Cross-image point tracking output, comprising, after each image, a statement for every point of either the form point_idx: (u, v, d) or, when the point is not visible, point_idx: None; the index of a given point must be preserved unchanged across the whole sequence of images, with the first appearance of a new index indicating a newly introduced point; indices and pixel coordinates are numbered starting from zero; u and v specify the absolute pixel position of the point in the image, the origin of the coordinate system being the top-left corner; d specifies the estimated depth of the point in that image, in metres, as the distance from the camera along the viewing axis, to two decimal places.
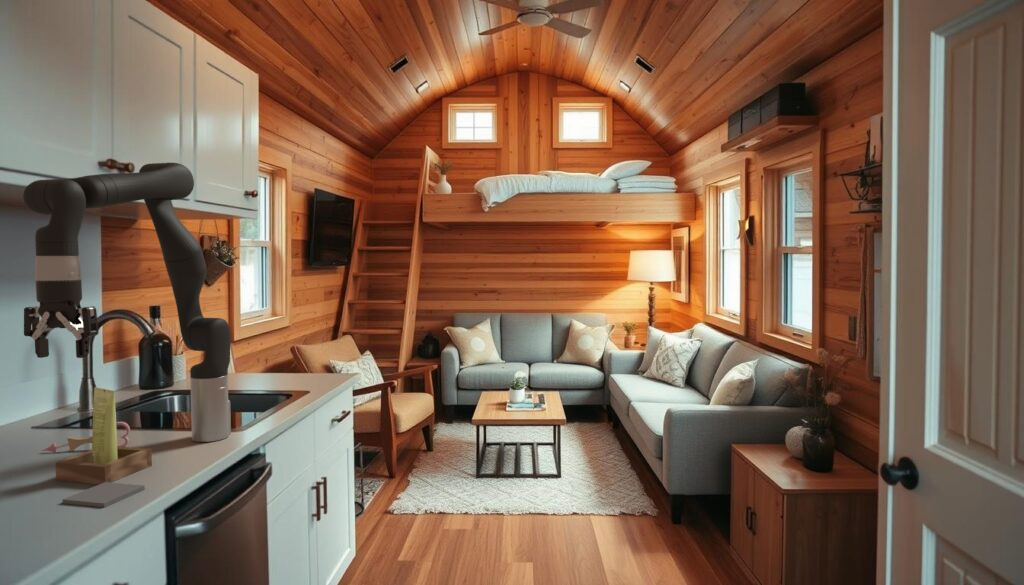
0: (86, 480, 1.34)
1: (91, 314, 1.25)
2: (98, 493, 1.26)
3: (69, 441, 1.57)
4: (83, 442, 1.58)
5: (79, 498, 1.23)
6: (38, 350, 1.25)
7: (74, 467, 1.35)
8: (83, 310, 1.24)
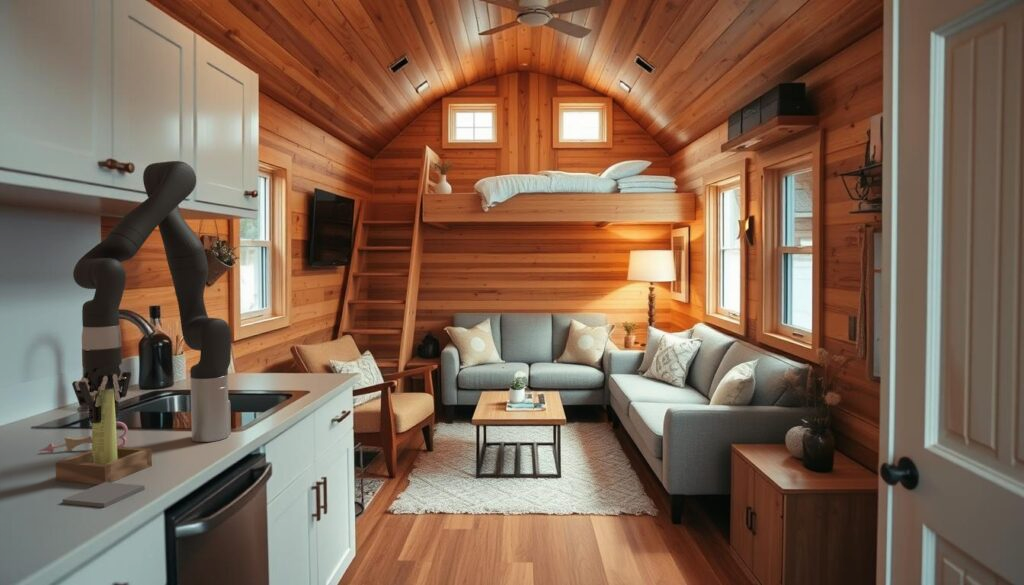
0: (86, 480, 1.34)
1: None
2: (98, 493, 1.26)
3: (66, 441, 1.57)
4: (81, 442, 1.58)
5: (79, 498, 1.23)
6: (100, 416, 1.38)
7: (74, 467, 1.35)
8: (128, 374, 1.46)
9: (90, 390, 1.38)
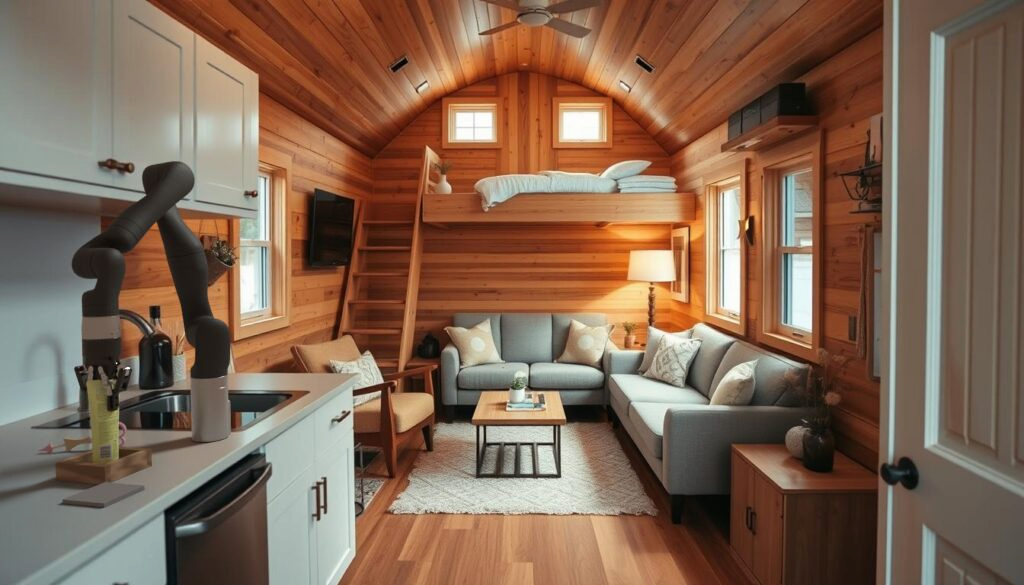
0: (86, 480, 1.34)
1: None
2: (98, 493, 1.26)
3: (65, 441, 1.57)
4: (80, 442, 1.58)
5: (79, 498, 1.23)
6: None
7: (74, 467, 1.35)
8: None
9: None
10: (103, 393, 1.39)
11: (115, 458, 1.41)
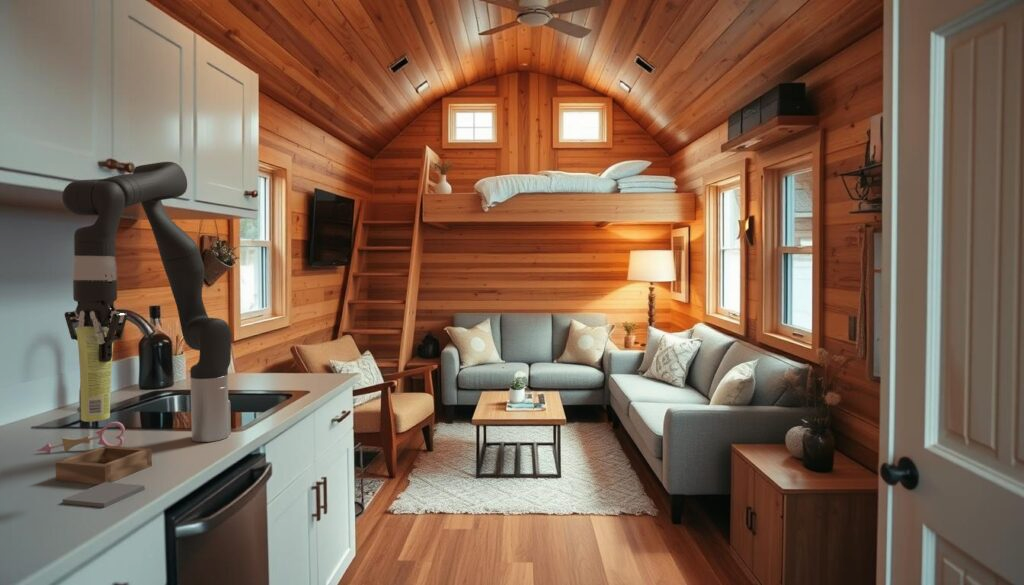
0: (86, 480, 1.34)
1: None
2: (98, 493, 1.26)
3: (64, 441, 1.57)
4: (78, 442, 1.58)
5: (79, 498, 1.23)
6: None
7: (74, 467, 1.35)
8: None
9: None
10: (95, 341, 1.26)
11: (105, 414, 1.27)
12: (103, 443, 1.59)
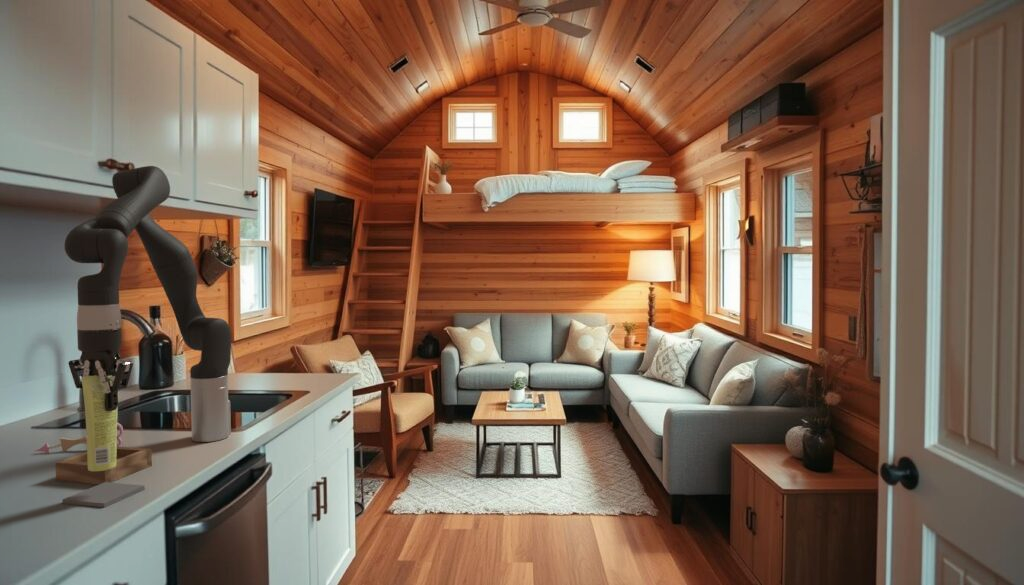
0: (86, 480, 1.34)
1: None
2: (98, 493, 1.26)
3: (62, 442, 1.57)
4: (76, 442, 1.58)
5: (79, 498, 1.23)
6: None
7: (74, 467, 1.35)
8: None
9: None
10: (100, 390, 1.25)
11: (112, 463, 1.26)
12: None
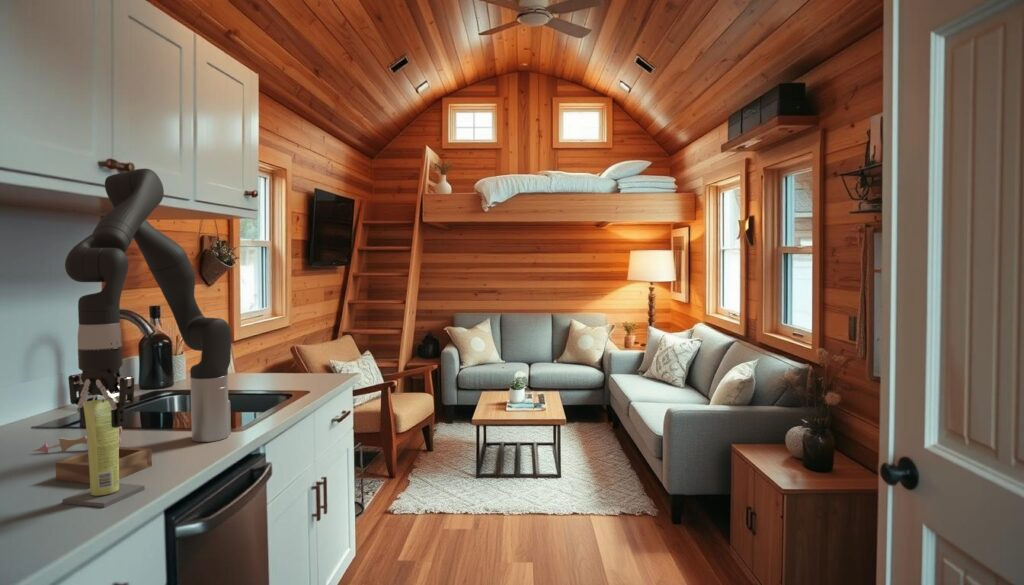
0: (86, 480, 1.34)
1: None
2: None
3: (61, 441, 1.57)
4: (75, 442, 1.58)
5: (79, 498, 1.23)
6: None
7: (74, 467, 1.35)
8: None
9: None
10: (102, 415, 1.25)
11: (115, 486, 1.26)
12: None
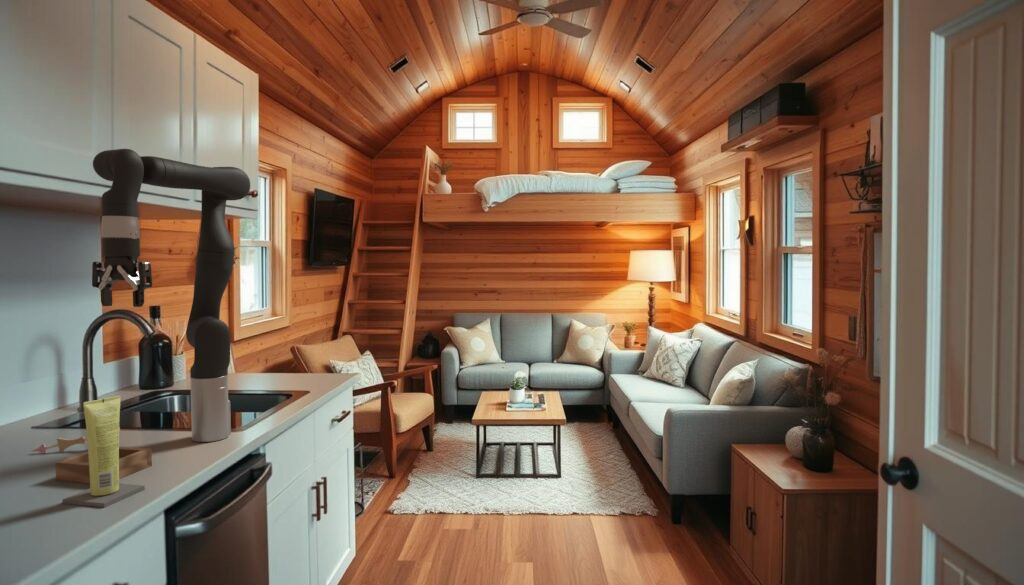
0: (86, 480, 1.34)
1: None
2: None
3: (59, 442, 1.57)
4: (73, 442, 1.58)
5: (79, 498, 1.23)
6: None
7: (74, 467, 1.35)
8: None
9: None
10: (102, 415, 1.25)
11: (115, 486, 1.26)
12: None
